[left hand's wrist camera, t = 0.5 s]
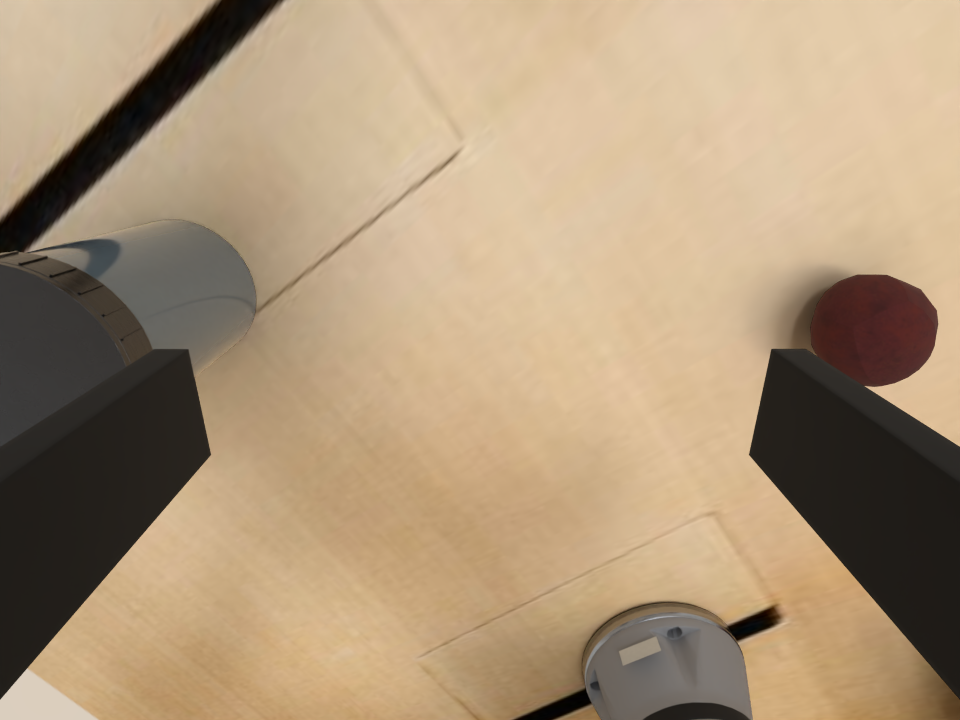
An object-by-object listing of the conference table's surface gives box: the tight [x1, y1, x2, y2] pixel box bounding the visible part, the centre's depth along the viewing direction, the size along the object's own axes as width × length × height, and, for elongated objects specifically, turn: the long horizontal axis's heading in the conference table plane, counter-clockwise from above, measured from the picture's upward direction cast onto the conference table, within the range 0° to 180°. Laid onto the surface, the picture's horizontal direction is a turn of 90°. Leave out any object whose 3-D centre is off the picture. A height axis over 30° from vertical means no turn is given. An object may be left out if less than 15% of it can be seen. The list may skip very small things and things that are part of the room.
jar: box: [27, 220, 256, 377], centre depth 33 cm, size 10×10×16 cm
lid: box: [0, 251, 153, 447], centre depth 26 cm, size 11×11×2 cm
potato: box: [810, 275, 938, 387], centre depth 37 cm, size 7×8×7 cm
